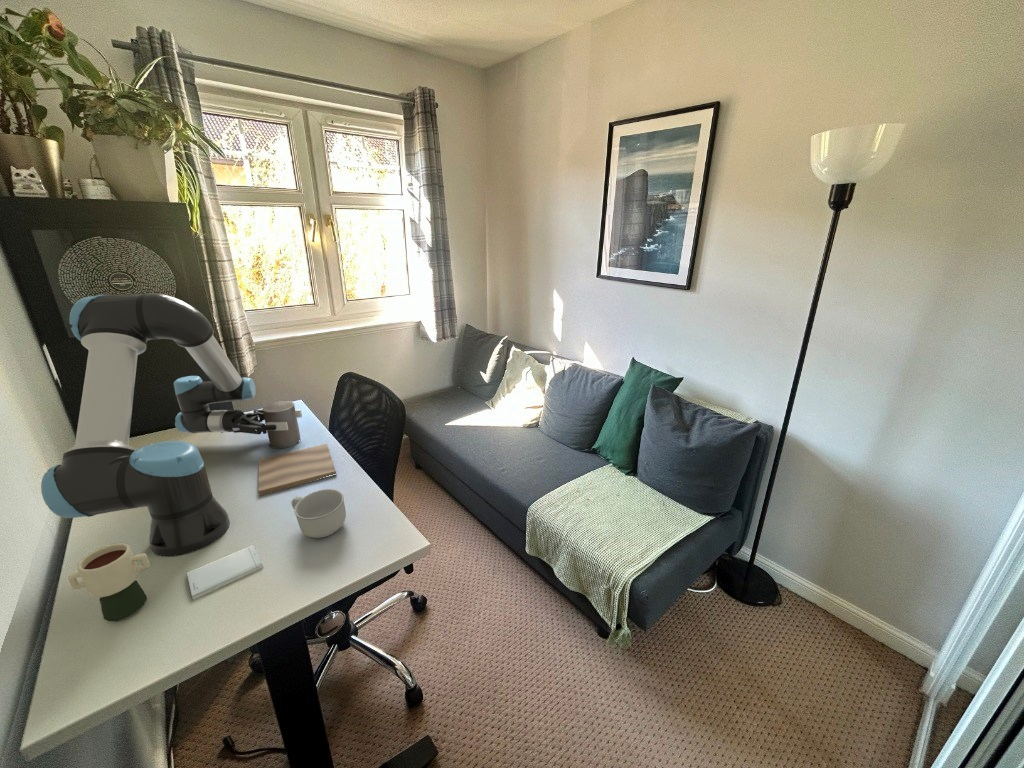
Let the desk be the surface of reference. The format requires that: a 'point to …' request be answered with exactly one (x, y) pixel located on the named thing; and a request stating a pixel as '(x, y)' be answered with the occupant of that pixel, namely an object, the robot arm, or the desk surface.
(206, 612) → the desk surface
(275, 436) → the pillar candle
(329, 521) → the teacup
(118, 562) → the character mug
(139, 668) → the desk surface
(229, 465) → the desk surface
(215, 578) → the hard drive
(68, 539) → the desk surface
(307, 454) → the wooden board
